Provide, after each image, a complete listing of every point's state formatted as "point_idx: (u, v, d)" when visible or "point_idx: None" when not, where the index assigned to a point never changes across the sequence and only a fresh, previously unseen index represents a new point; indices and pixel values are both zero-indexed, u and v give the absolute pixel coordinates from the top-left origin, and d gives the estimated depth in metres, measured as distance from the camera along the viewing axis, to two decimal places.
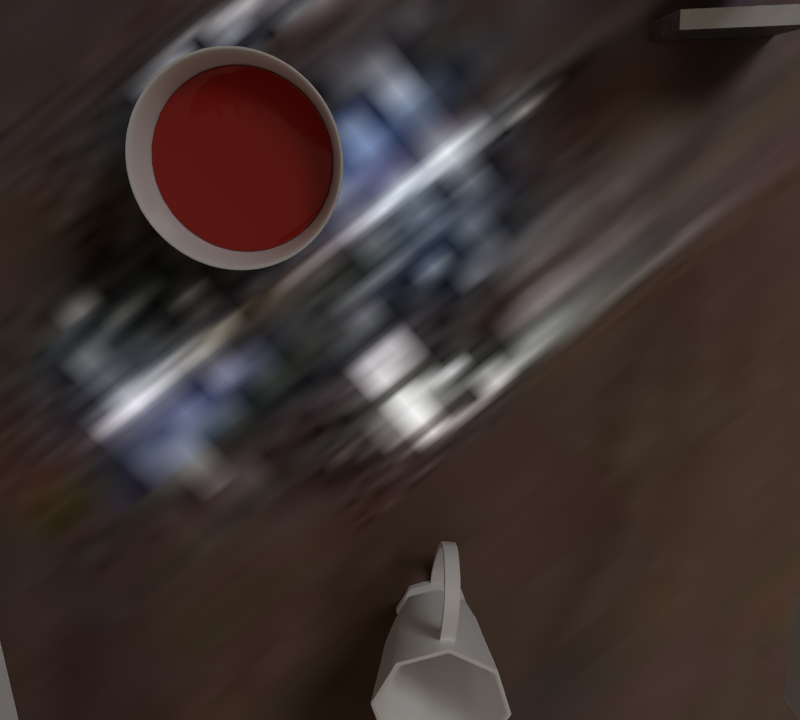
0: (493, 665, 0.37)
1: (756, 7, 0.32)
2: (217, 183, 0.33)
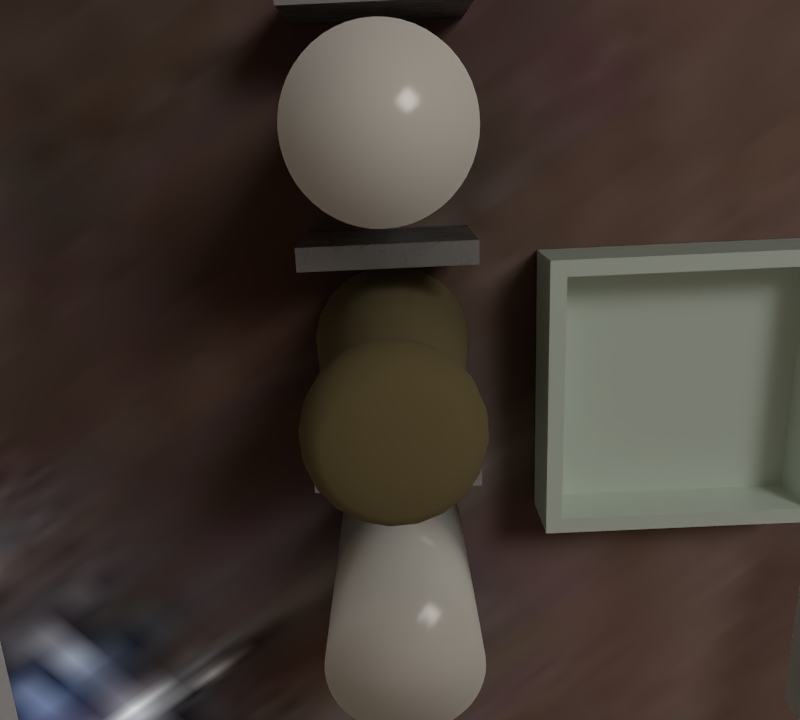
0: None
1: None
2: None
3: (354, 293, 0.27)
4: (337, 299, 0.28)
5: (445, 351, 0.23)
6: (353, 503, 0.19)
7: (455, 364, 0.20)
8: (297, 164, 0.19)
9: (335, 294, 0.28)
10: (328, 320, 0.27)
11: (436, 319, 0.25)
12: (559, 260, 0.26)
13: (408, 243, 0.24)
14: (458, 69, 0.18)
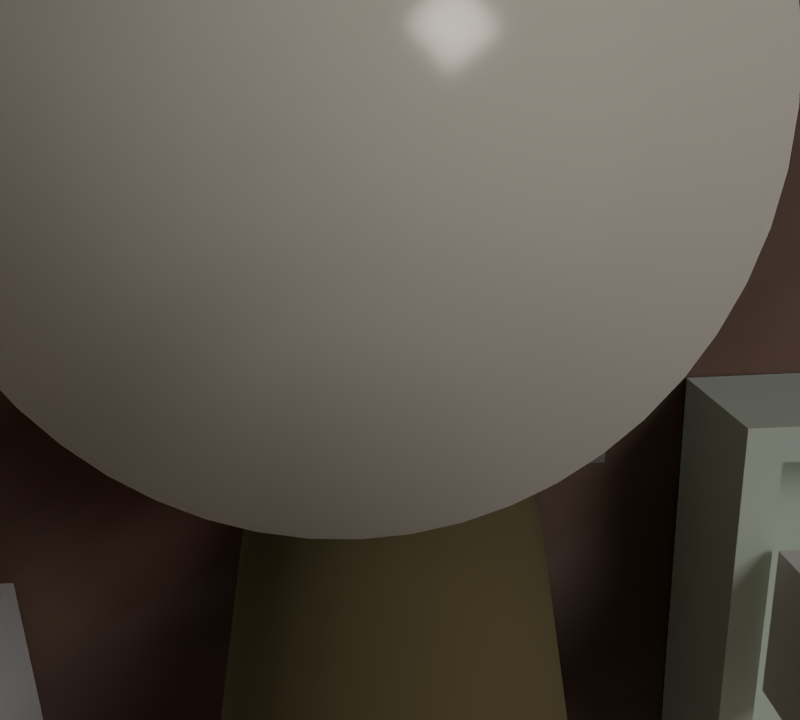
0: None
1: None
2: None
3: None
4: None
5: None
6: None
7: None
8: None
9: None
10: (253, 547, 0.12)
11: (499, 591, 0.10)
12: (767, 427, 0.12)
13: None
14: None
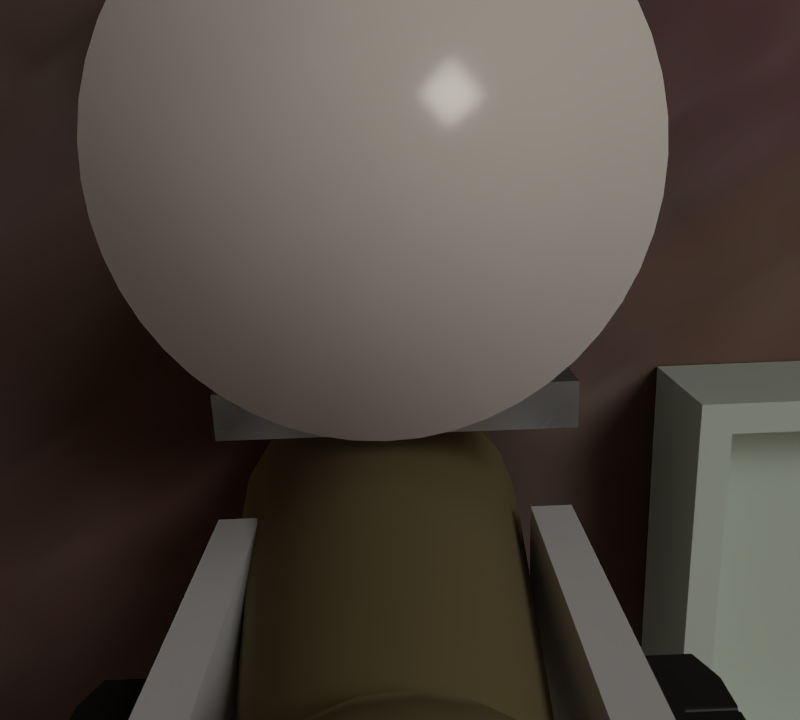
0: None
1: None
2: None
3: (312, 462, 0.14)
4: (279, 463, 0.14)
5: (518, 653, 0.10)
6: None
7: None
8: (143, 271, 0.07)
9: (276, 447, 0.15)
10: (260, 513, 0.14)
11: (483, 541, 0.12)
12: (718, 404, 0.14)
13: None
14: None
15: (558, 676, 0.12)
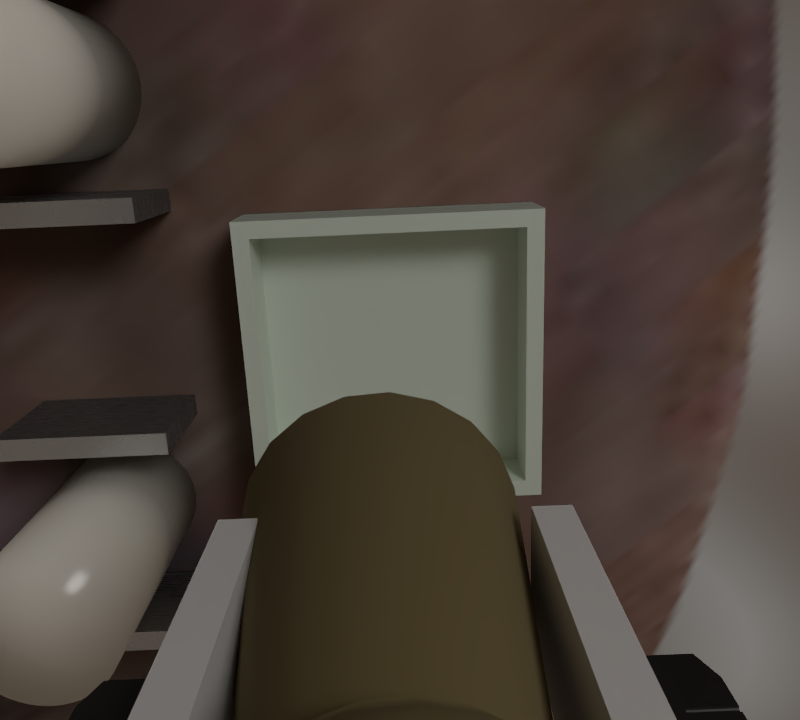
0: None
1: None
2: None
3: (311, 464, 0.14)
4: (278, 465, 0.14)
5: (517, 658, 0.10)
6: None
7: None
8: None
9: (276, 448, 0.15)
10: (259, 515, 0.14)
11: (482, 544, 0.12)
12: (238, 222, 0.25)
13: (59, 201, 0.24)
14: None
15: (559, 676, 0.12)
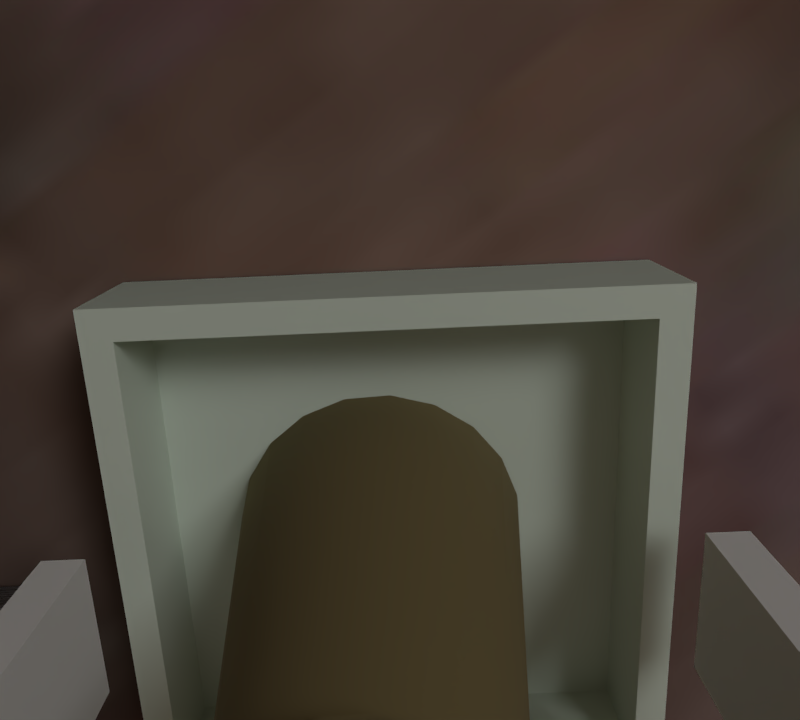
0: None
1: None
2: None
3: (305, 467, 0.13)
4: (275, 467, 0.14)
5: (494, 676, 0.10)
6: None
7: None
8: None
9: (275, 450, 0.15)
10: (253, 518, 0.14)
11: (469, 556, 0.12)
12: (92, 309, 0.13)
13: None
14: None
15: None
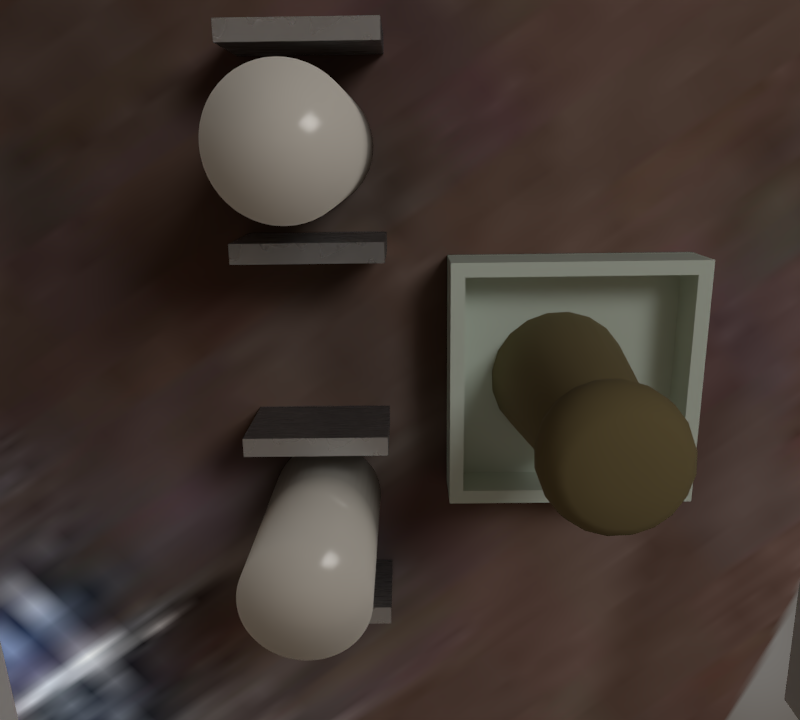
0: None
1: None
2: None
3: (542, 335, 0.31)
4: (521, 339, 0.32)
5: None
6: (587, 514, 0.24)
7: (673, 404, 0.24)
8: (214, 171, 0.23)
9: (516, 334, 0.33)
10: (517, 357, 0.31)
11: (622, 362, 0.29)
12: (458, 263, 0.30)
13: (324, 243, 0.29)
14: (343, 100, 0.23)
15: None
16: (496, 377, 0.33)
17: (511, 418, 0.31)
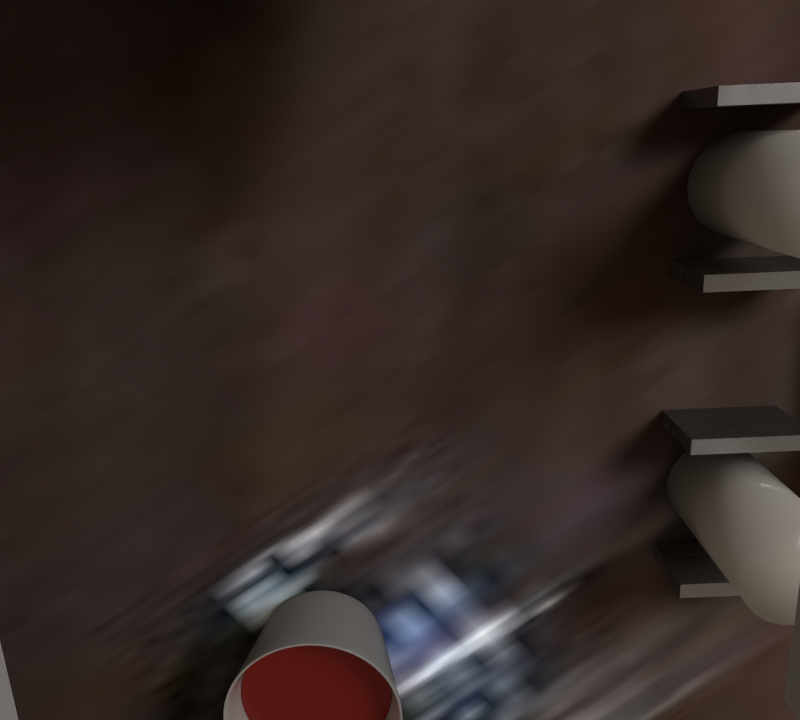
0: None
1: None
2: (295, 708, 0.40)
3: None
4: None
5: None
6: None
7: None
8: (787, 223, 0.28)
9: None
10: None
11: None
12: None
13: (786, 271, 0.34)
14: None
15: None
16: None
17: None
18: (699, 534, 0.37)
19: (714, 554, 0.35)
